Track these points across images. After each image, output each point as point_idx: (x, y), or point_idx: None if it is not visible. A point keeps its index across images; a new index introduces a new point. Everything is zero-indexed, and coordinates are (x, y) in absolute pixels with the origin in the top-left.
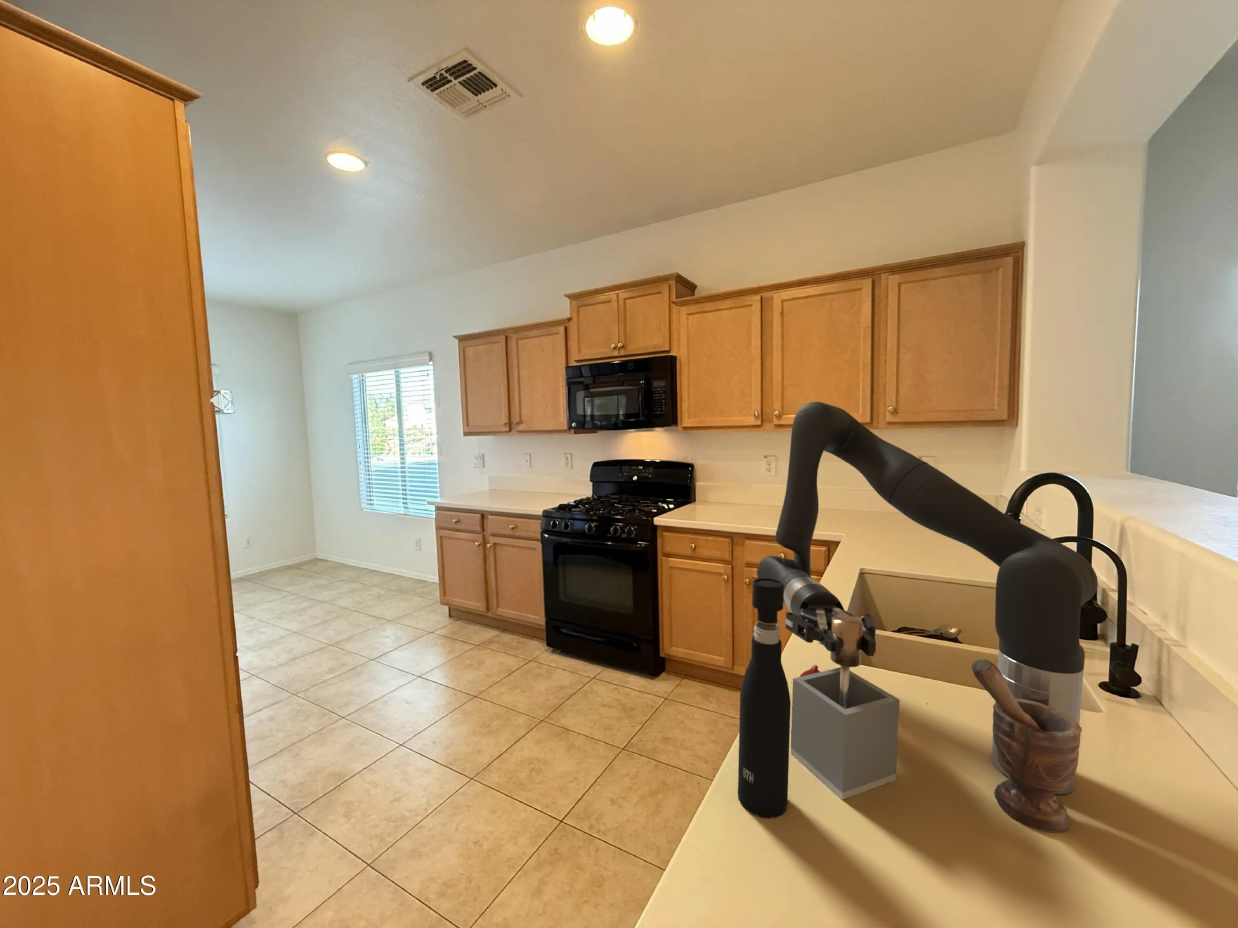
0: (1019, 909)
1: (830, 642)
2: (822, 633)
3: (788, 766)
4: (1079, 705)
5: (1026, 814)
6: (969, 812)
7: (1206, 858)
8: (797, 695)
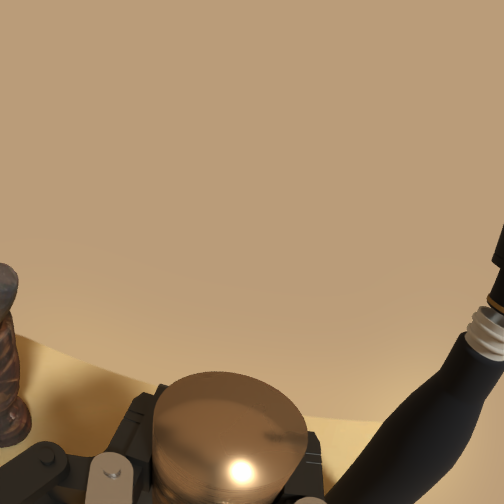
0: (140, 387)
1: (313, 433)
2: (319, 495)
3: (330, 493)
4: None
5: (26, 410)
6: (66, 453)
7: None
8: None
